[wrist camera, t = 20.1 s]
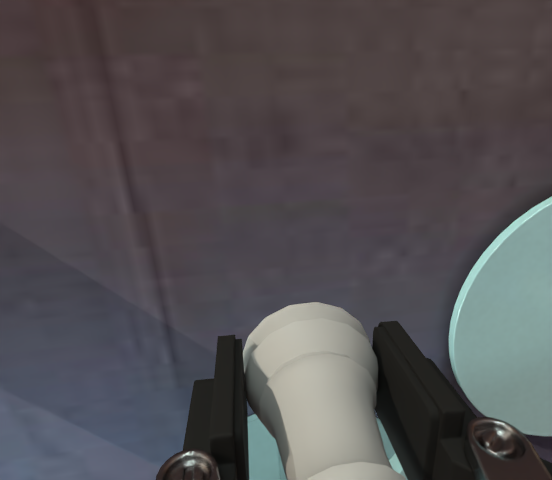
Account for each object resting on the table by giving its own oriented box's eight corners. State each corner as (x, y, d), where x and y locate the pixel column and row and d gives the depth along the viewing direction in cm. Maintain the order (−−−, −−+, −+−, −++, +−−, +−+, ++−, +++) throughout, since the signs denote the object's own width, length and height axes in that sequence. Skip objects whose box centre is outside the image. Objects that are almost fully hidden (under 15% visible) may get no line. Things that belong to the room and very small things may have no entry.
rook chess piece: (218, 377, 13) (190, 748, 5) (280, 274, 12) (352, 553, 4) (325, 418, 14) (426, 774, 6) (390, 325, 13) (604, 623, 5)
